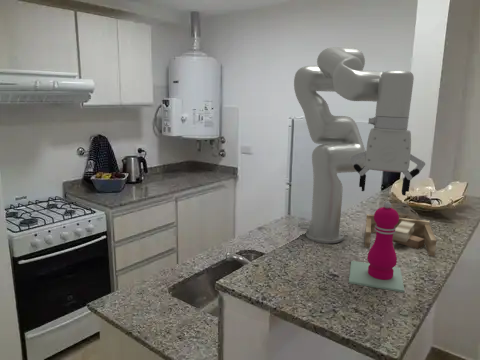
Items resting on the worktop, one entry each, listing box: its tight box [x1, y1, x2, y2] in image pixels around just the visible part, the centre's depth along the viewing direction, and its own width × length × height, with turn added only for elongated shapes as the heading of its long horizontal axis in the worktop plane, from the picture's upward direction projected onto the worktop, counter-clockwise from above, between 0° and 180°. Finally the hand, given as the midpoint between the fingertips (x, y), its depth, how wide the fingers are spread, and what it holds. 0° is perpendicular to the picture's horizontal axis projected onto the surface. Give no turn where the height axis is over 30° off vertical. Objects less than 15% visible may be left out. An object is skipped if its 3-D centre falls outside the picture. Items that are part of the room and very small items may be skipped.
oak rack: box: [364, 213, 437, 257], centre depth 121 cm, size 20×16×6 cm
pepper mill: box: [366, 201, 399, 280], centre depth 95 cm, size 7×7×20 cm
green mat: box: [348, 260, 405, 293], centre depth 98 cm, size 13×13×1 cm
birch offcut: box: [393, 221, 415, 242], centre depth 120 cm, size 12×4×3 cm, turn 144°
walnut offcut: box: [393, 235, 425, 250], centre depth 121 cm, size 12×4×3 cm, turn 38°
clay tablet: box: [390, 202, 421, 220], centre depth 148 cm, size 14×5×20 cm
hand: (382, 192), depth 93 cm, fingers open, 9 cm apart
